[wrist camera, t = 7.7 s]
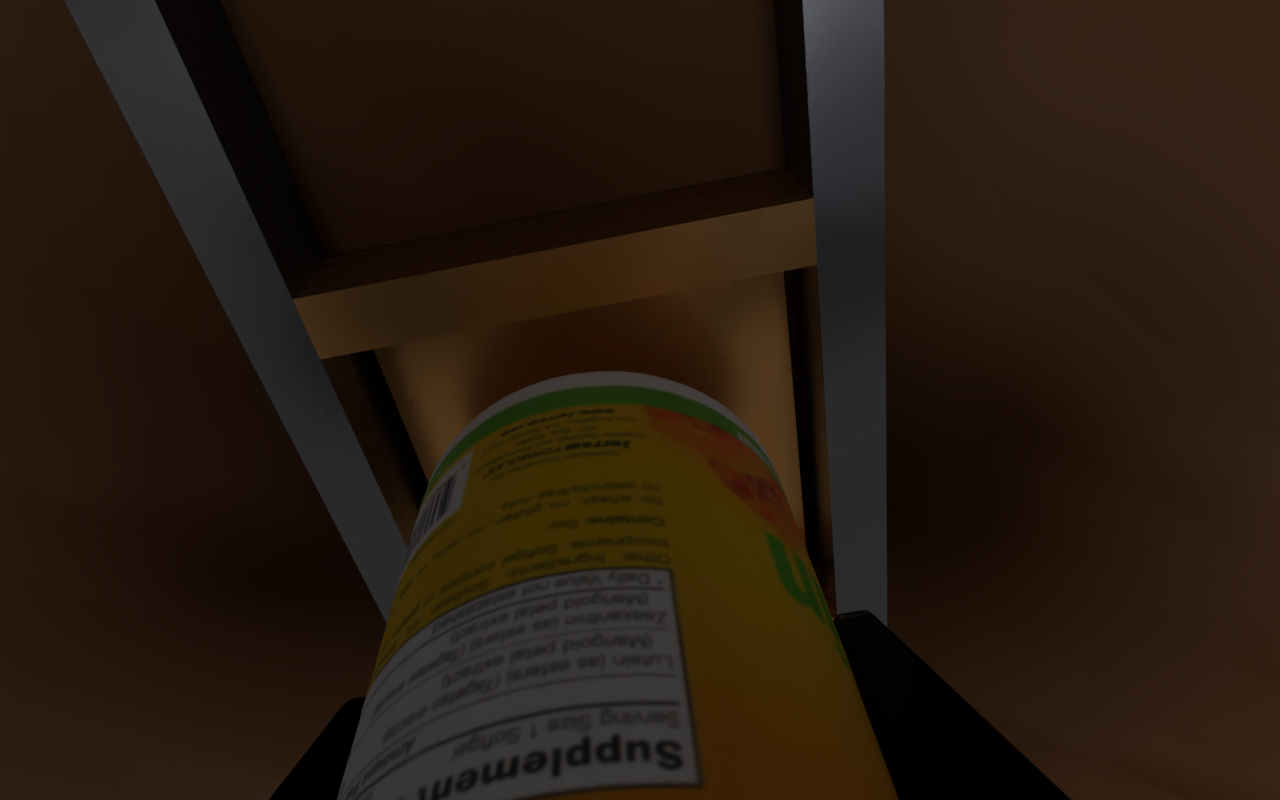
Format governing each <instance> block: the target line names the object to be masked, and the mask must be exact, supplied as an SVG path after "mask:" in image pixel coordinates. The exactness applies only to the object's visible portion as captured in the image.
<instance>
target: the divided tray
mask: <svg viewBox="0 0 1280 800" xmlns="http://www.w3.org/2000/svg"><path fill="white" fill-rule="evenodd" d="M64 1H65V3H66V5H67V6H68V8H69V10H70V12H71V14H72V16H73V18H74V20H75V22H76V24H77V26H78V28H79V30H80V32H81V34H82V35H83V37H84V39H85V41H86V43H87V45H88V47H89V49H90V51H91V53H92V55H93V57H94V59H95V61H96V63H97V64H98V66H99V68H100V70H101V72H102V74H103V76H104V78H105V80H106V82H107V84H108V86H109V88H110V90H111V92H112V93H113V95H114V97H115V99H116V101H117V103H118V105H119V107H120V109H121V111H122V113H123V115H124V117H125V119H126V121H127V122H128V124H129V126H130V128H131V130H132V132H133V134H134V136H135V138H136V140H137V142H138V144H139V146H140V148H141V149H142V151H143V153H144V155H145V157H146V159H147V161H148V163H149V165H150V167H151V169H152V171H153V173H154V175H155V177H156V178H157V180H158V182H159V184H160V186H161V188H162V190H163V192H164V194H165V196H166V198H167V200H168V202H169V204H170V206H171V207H172V209H173V211H174V213H175V215H176V217H177V219H178V221H179V223H180V225H181V227H182V229H183V231H184V233H185V235H186V236H187V238H188V240H189V242H190V244H191V246H192V248H193V250H194V252H195V254H196V256H197V258H198V260H199V262H200V264H201V265H202V267H203V269H204V271H205V273H206V275H207V277H208V279H209V281H210V283H211V285H212V287H213V289H214V291H215V293H216V294H217V296H218V298H219V300H220V302H221V304H222V306H223V308H224V310H225V312H226V314H227V316H228V318H229V320H230V322H231V323H232V325H233V327H234V329H235V331H236V333H237V335H238V337H239V339H240V341H241V343H242V345H243V347H244V349H245V351H246V352H247V354H248V356H249V358H250V360H251V362H252V364H253V366H254V368H255V370H256V372H257V374H258V376H259V378H260V379H261V381H262V383H263V385H264V387H265V389H266V391H267V393H268V395H269V397H270V399H271V401H272V403H273V405H274V407H275V408H276V410H277V412H278V414H279V416H280V418H281V420H282V422H283V424H284V426H285V428H286V430H287V432H288V434H289V436H290V437H291V439H292V441H293V443H294V445H295V447H296V449H297V451H298V453H299V455H300V457H301V459H302V461H303V463H304V465H305V466H306V468H307V470H308V472H309V474H310V476H311V478H312V480H313V482H314V484H315V486H316V488H317V490H318V492H319V494H320V495H321V497H322V499H323V501H324V503H325V505H326V507H327V509H328V511H329V513H330V515H331V517H332V519H333V521H334V523H335V524H336V526H337V528H338V530H339V532H340V534H341V536H342V538H343V540H344V542H345V544H346V546H347V548H348V550H349V552H350V553H351V555H352V557H353V559H354V561H355V563H356V565H357V567H358V569H359V571H360V573H361V575H362V577H363V579H364V581H365V582H366V584H367V586H368V588H369V590H370V592H371V594H372V596H373V598H374V600H375V602H376V604H377V606H378V608H379V609H380V611H381V613H382V615H383V617H384V619H385V621H386V623H387V621H388V618H389V614H390V610H391V607H392V603H393V599H394V597H395V594H396V589H397V585H398V582H399V578H400V575H401V570H402V567H403V564H404V561H405V558H406V554H407V550H408V548H409V544H410V540H411V536H412V532H413V529H414V526H415V523H416V520H417V516H418V513H419V510H420V506H421V503H422V501H423V498H424V496H425V493H426V492H425V490H424V488H423V485H422V483H421V480H420V478H419V476H418V473H417V471H416V469H415V466H414V464H413V461H412V459H411V457H410V454H409V452H408V450H407V447H406V445H405V442H404V440H403V438H402V435H401V433H400V431H399V428H398V426H397V423H396V421H395V419H394V416H393V414H392V412H391V409H390V407H389V404H388V402H387V400H386V397H385V395H384V393H383V390H382V388H381V385H380V383H379V381H378V378H377V376H376V374H375V371H374V369H373V366H372V364H371V362H370V359H369V357H368V355H367V352H366V351H367V350H372V349H373V350H374V353H375V355H376V358H377V360H378V362H379V365H380V367H381V370H382V372H383V374H384V377H385V379H386V382H387V384H388V387H389V389H390V391H391V394H392V396H393V399H394V401H395V403H396V406H397V408H398V411H399V413H400V415H401V418H402V420H403V423H404V425H405V428H406V430H407V432H408V435H409V437H410V440H411V442H412V444H413V447H414V449H415V452H416V454H417V456H418V459H419V461H420V464H421V466H422V468H423V471H424V473H425V476H426V478H427V481H428V483H429V481H430V479H431V476H432V474H433V472H434V469H435V467H436V465H437V463H438V462H439V460H440V458H441V457H442V455H443V454H444V452H445V451H446V449H447V448H448V446H449V445H450V444H451V442H452V441H453V440H454V439H455V437H456V436H457V435H458V434H459V433H460V432H461V431H462V430H463V429H464V428H465V427H466V426H467V425H468V424H469V423H470V422H471V421H472V420H473V419H474V418H476V417H477V416H478V415H479V414H480V413H482V412H483V411H484V410H486V409H487V408H488V407H490V406H491V405H493V404H494V403H496V402H497V401H499V400H500V399H502V398H504V397H506V396H508V395H509V394H512V393H514V392H516V391H518V390H521V389H523V388H525V387H528V386H530V385H533V384H536V383H539V382H542V381H545V380H548V379H551V378H556V377H560V376H566V375H571V374H578V373H585V372H597V371H623V372H636V373H643V374H649V375H653V376H657V377H661V378H665V379H668V380H672V381H675V382H678V383H681V384H684V385H686V386H689V387H691V388H693V389H696V390H698V391H700V392H702V393H704V394H706V395H707V396H709V397H711V398H712V399H714V400H716V401H717V402H719V403H720V404H722V405H723V406H724V407H726V408H727V409H729V410H730V411H731V412H732V413H733V414H735V415H736V416H737V417H738V418H739V419H740V420H741V421H742V422H743V423H744V424H745V425H746V426H747V427H748V428H749V429H750V430H751V431H752V433H753V434H754V435H755V436H756V437H757V439H758V440H759V441H760V443H761V444H762V446H763V447H764V449H765V450H766V452H767V454H768V456H769V457H770V459H771V462H772V464H773V466H774V468H775V470H776V472H777V475H778V477H779V479H780V482H781V484H782V487H783V489H784V492H785V494H786V497H787V500H788V502H789V505H790V508H791V510H792V513H793V516H794V518H795V521H796V524H797V526H798V529H799V532H800V534H801V537H802V540H803V542H804V545H805V548H806V539H805V527H804V515H803V502H802V490H801V478H800V466H799V454H798V441H797V429H796V417H795V405H794V393H793V380H792V368H791V356H790V344H789V331H788V319H787V307H786V295H785V283H784V271H788V270H793V269H794V277H795V290H796V304H797V317H798V331H799V344H800V358H801V371H802V385H803V398H804V412H805V425H806V439H807V452H808V466H809V479H810V493H811V506H812V520H813V533H814V547H815V559H811V560H810V561H811V563H812V566H813V569H814V571H815V574H816V576H817V579H818V581H819V584H820V587H821V589H822V592H823V595H824V597H825V600H826V603H827V605H828V608H829V611H830V614H831V617H832V619H833V620H834V617H835V616H836V615H838V614H841V613H847V612H852V611H858V610H867V611H869V612H871V613H872V614H873V615H875V616H876V617H877V618H878V619H879V620H880V621H881V622H882V623H883V624H884V625H885V626H886V627H887V482H886V295H885V109H884V0H774V6H775V20H776V33H777V47H778V60H779V74H780V87H781V101H782V114H783V128H784V141H785V155H786V168H784V169H779V170H774V171H769V172H764V173H759V174H753V175H748V176H743V177H738V178H733V179H728V180H723V181H718V182H713V183H707V184H702V185H697V186H692V187H687V188H682V189H677V190H672V191H667V192H662V193H656V194H651V195H646V196H641V197H636V198H631V199H626V200H621V201H616V202H610V203H605V204H600V205H595V206H590V207H585V208H580V209H575V210H570V211H565V212H559V213H554V214H549V215H544V216H539V217H534V218H529V219H524V220H519V221H513V222H508V223H503V224H498V225H493V226H488V227H483V228H478V229H473V230H468V231H462V232H457V233H452V234H447V235H442V236H437V237H432V238H427V239H422V240H417V241H411V242H406V243H401V244H396V245H391V246H386V247H381V248H376V249H371V250H365V251H360V252H355V253H350V254H345V255H340V256H335V257H330V258H327V257H326V255H325V252H324V250H323V248H322V245H321V243H320V241H319V238H318V236H317V233H316V231H315V229H314V226H313V224H312V222H311V219H310V217H309V214H308V212H307V210H306V207H305V205H304V203H303V200H302V198H301V195H300V193H299V191H298V188H297V186H296V184H295V181H294V179H293V176H292V174H291V172H290V169H289V167H288V165H287V162H286V160H285V157H284V155H283V153H282V150H281V148H280V146H279V143H278V141H277V139H276V136H275V134H274V131H273V129H272V127H271V124H270V122H269V120H268V117H267V115H266V112H265V110H264V108H263V105H262V103H261V101H260V98H259V96H258V93H257V91H256V89H255V86H254V84H253V82H252V79H251V77H250V74H249V72H248V70H247V67H246V65H245V63H244V60H243V58H242V55H241V53H240V51H239V48H238V46H237V44H236V41H235V39H234V36H233V34H232V32H231V29H230V27H229V25H228V22H227V20H226V17H225V15H224V13H223V10H222V8H221V6H220V3H219V1H218V0H64Z"/></svg>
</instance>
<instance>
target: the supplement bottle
mask: <svg viewBox="0 0 1280 800" xmlns="http://www.w3.org/2000/svg"><path fill="white" fill-rule="evenodd" d="M337 800H899V798H898V795H897V792H896V790H895V787H894V784H893V782H892V779H891V776H890V773H889V771H888V768H887V765H886V763H885V760H884V757H883V755H882V752H881V749H880V747H879V744H878V741H877V739H876V736H875V733H874V731H873V728H872V725H871V722H870V719H869V717H868V714H867V711H866V708H865V705H864V702H863V700H862V697H861V694H860V691H859V689H858V686H857V683H856V680H855V678H854V675H853V672H852V669H851V666H850V663H849V661H848V658H847V656H846V653H845V650H844V648H843V645H842V643H841V640H840V637H839V635H838V632H837V630H836V627H835V625H834V622H833V619H832V617H831V614H830V611H829V608H828V605H827V603H826V600H825V597H824V595H823V592H822V589H821V587H820V584H819V581H818V579H817V576H816V574H815V571H814V569H813V566H812V563H811V561H810V558H809V556H808V553H807V550H806V548H805V545H804V542H803V540H802V537H801V534H800V532H799V529H798V526H797V524H796V521H795V518H794V516H793V513H792V510H791V508H790V505H789V502H788V500H787V497H786V494H785V492H784V489H783V487H782V484H781V482H780V479H779V477H778V475H777V472H776V470H775V468H774V466H773V464H772V462H771V459H770V457H769V456H768V454H767V452H766V450H765V449H764V447H763V446H762V444H761V443H760V441H759V440H758V439H757V437H756V436H755V435H754V434H753V433H752V431H751V430H750V429H749V428H748V427H747V426H746V425H745V424H744V423H743V422H742V421H741V420H740V419H739V418H738V417H737V416H736V415H735V414H733V413H732V412H731V411H730V410H729V409H727V408H726V407H724V406H723V405H722V404H720V403H719V402H717V401H716V400H714V399H712V398H711V397H709V396H707V395H706V394H704V393H702V392H700V391H698V390H696V389H693V388H691V387H689V386H686V385H684V384H681V383H678V382H675V381H672V380H668V379H665V378H661V377H657V376H653V375H649V374H643V373H636V372H623V371H597V372H585V373H578V374H571V375H566V376H560V377H556V378H551V379H548V380H545V381H542V382H539V383H536V384H533V385H530V386H528V387H525V388H523V389H521V390H518V391H516V392H514V393H512V394H509V395H508V396H506V397H504V398H502V399H500V400H499V401H497V402H496V403H494V404H493V405H491V406H490V407H488V408H487V409H486V410H484V411H483V412H482V413H480V414H479V415H478V416H477V417H476V418H474V419H473V420H472V421H471V422H470V423H469V424H468V425H467V426H466V427H465V428H464V429H463V430H462V431H461V432H460V433H459V434H458V435H457V436H456V437H455V439H454V440H453V441H452V442H451V444H450V445H449V446H448V448H447V449H446V451H445V452H444V454H443V455H442V457H441V458H440V460H439V462H438V463H437V465H436V467H435V469H434V472H433V474H432V476H431V479H430V481H429V484H428V487H427V490H426V493H425V496H424V498H423V501H422V503H421V506H420V510H419V513H418V516H417V520H416V523H415V526H414V529H413V532H412V536H411V540H410V544H409V548H408V550H407V554H406V558H405V561H404V564H403V567H402V570H401V575H400V578H399V582H398V585H397V589H396V594H395V597H394V599H393V603H392V607H391V610H390V614H389V618H388V621H387V625H386V628H385V632H384V635H383V639H382V643H381V646H380V650H379V653H378V657H377V660H376V664H375V667H374V671H373V674H372V678H371V681H370V685H369V688H368V692H367V695H366V698H365V702H364V705H363V708H362V712H361V717H360V721H359V724H358V728H357V731H356V735H355V738H354V742H353V745H352V749H351V752H350V755H349V759H348V762H347V766H346V769H345V773H344V776H343V780H342V783H341V787H340V790H339V794H338V798H337Z"/></svg>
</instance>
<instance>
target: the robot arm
mask: <svg viewBox="0 0 1280 800" xmlns="http://www.w3.org/2000/svg"><path fill="white" fill-rule="evenodd" d="M833 622H834V625H835V627H836V630H837V632H838V635H839V637H840V640H841V643H842V645H843V648H844V650H845V653H846V656H847V658H848V661H849V663H850V666H851V669H852V672H853V675H854V678H855V680H856V683H857V686H858V689H859V691H860V694H861V697H862V700H863V702H864V705H865V708H866V711H867V714H868V717H869V719H870V722H871V725H872V728H873V731H874V733H875V736H876V739H877V741H878V744H879V747H880V749H881V752H882V755H883V757H884V760H885V763H886V765H887V768H888V771H889V773H890V776H891V779H892V782H893V784H894V787H895V790H896V792H897V795H898V798H899V800H1071V799H1070V798H1069V797H1068V796H1067V795H1066V794H1064V793H1063V792H1062V791H1061V790H1060V789H1059V788H1058V787H1057V786H1056V785H1055V784H1054V783H1053V782H1052V781H1051V780H1050V779H1048V778H1047V777H1046V776H1045V775H1044V774H1043V773H1042V772H1041V771H1040V770H1039V769H1038V768H1037V767H1036V766H1035V765H1034V764H1032V763H1031V762H1030V761H1029V760H1028V759H1027V758H1026V757H1025V756H1024V755H1023V754H1022V753H1021V752H1020V751H1019V750H1018V749H1016V748H1015V747H1014V746H1013V745H1012V744H1011V743H1010V742H1009V741H1008V740H1007V739H1006V738H1005V737H1004V736H1003V735H1002V734H1000V733H999V732H998V731H997V730H996V729H995V728H994V727H993V726H992V725H991V724H990V723H989V722H988V721H987V720H986V719H984V718H983V717H982V716H981V715H980V714H979V713H978V712H977V711H976V710H975V709H974V708H973V707H972V706H971V705H970V704H968V703H967V702H966V701H965V700H964V699H963V698H962V697H961V696H960V695H959V694H958V693H957V692H956V691H955V690H954V689H952V688H951V687H950V686H949V685H948V684H947V683H946V682H945V681H944V680H943V679H942V678H941V677H940V676H939V675H938V674H936V673H935V672H934V671H933V670H932V669H931V668H930V667H929V666H928V665H927V664H926V663H925V662H924V661H923V660H922V659H920V658H919V657H918V656H917V655H916V654H915V653H914V652H913V651H912V650H911V649H910V648H909V647H908V646H907V645H906V644H904V643H903V642H902V641H901V640H900V639H899V638H898V637H897V636H896V635H895V634H894V633H893V632H892V631H891V630H890V629H888V628H887V627H886V626H885V625H884V624H883V623H882V622H881V621H880V620H879V619H878V618H877V617H876V616H875V615H873V614H872V613H871V612H869V611H867V610H858V611H852V612H847V613H841V614H838V615H836V616H835V617H834V620H833ZM365 698H366V696H365V697H359V698H354V699H351V700H349V701H348V702H346V703H345V704H344V705H343V706H342V707H341V708H340V710H339V711H338V712H337V713H336V715H335V716H334V717H333V719H332V720H331V721H330V722H329V724H328V725H327V726H326V727H325V729H324V730H323V731H322V733H321V734H320V735H319V736H318V738H317V739H316V740H315V741H314V743H313V744H312V745H311V747H310V748H309V749H308V750H307V752H306V753H305V754H304V755H303V757H302V758H301V759H300V761H299V762H298V763H297V764H296V766H295V767H294V768H293V769H292V771H291V772H290V773H289V775H288V776H287V777H286V778H285V780H284V781H283V782H282V783H281V785H280V786H279V787H278V789H277V790H276V791H275V792H274V794H273V795H272V796H271V797H270V799H269V800H337V798H338V794H339V790H340V787H341V783H342V780H343V776H344V773H345V769H346V766H347V762H348V759H349V755H350V752H351V749H352V745H353V742H354V738H355V735H356V731H357V728H358V724H359V721H360V717H361V712H362V708H363V705H364V702H365Z"/></svg>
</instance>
